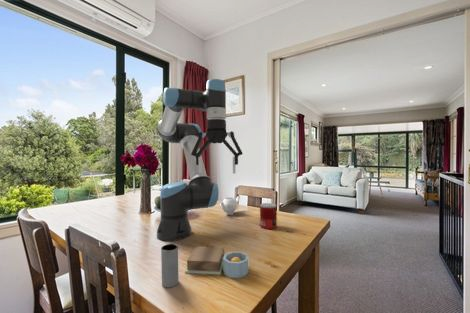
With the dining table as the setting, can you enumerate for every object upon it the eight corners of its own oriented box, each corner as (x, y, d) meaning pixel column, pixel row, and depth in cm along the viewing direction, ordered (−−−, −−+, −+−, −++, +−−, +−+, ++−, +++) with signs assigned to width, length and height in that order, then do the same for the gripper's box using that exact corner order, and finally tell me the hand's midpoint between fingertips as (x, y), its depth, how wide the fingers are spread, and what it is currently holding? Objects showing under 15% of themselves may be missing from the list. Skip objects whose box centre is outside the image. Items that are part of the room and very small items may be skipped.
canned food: (276, 230, 104) (276, 207, 104) (259, 229, 105) (259, 206, 105) (276, 224, 111) (276, 203, 111) (261, 224, 113) (260, 202, 113)
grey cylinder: (158, 286, 61) (157, 249, 61) (168, 277, 65) (168, 242, 65) (172, 289, 59) (171, 251, 59) (181, 280, 64) (181, 244, 63)
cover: (187, 270, 68) (187, 260, 68) (196, 255, 78) (196, 246, 78) (219, 271, 67) (219, 261, 67) (224, 256, 77) (224, 247, 77)
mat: (185, 272, 67) (185, 270, 67) (195, 256, 78) (195, 254, 78) (220, 274, 66) (220, 272, 66) (225, 257, 77) (225, 255, 77)
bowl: (221, 277, 64) (221, 262, 64) (225, 264, 72) (225, 251, 72) (247, 279, 64) (247, 263, 64) (248, 265, 71) (248, 251, 71)
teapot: (213, 216, 128) (212, 200, 128) (233, 209, 144) (233, 195, 144) (226, 219, 123) (225, 202, 122) (245, 211, 139) (245, 196, 139)
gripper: (182, 119, 85) (183, 174, 85) (247, 117, 82) (248, 174, 82) (188, 122, 92) (189, 172, 92) (248, 120, 89) (248, 172, 90)
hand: (217, 173), depth 87 cm, fingers open, 13 cm apart
